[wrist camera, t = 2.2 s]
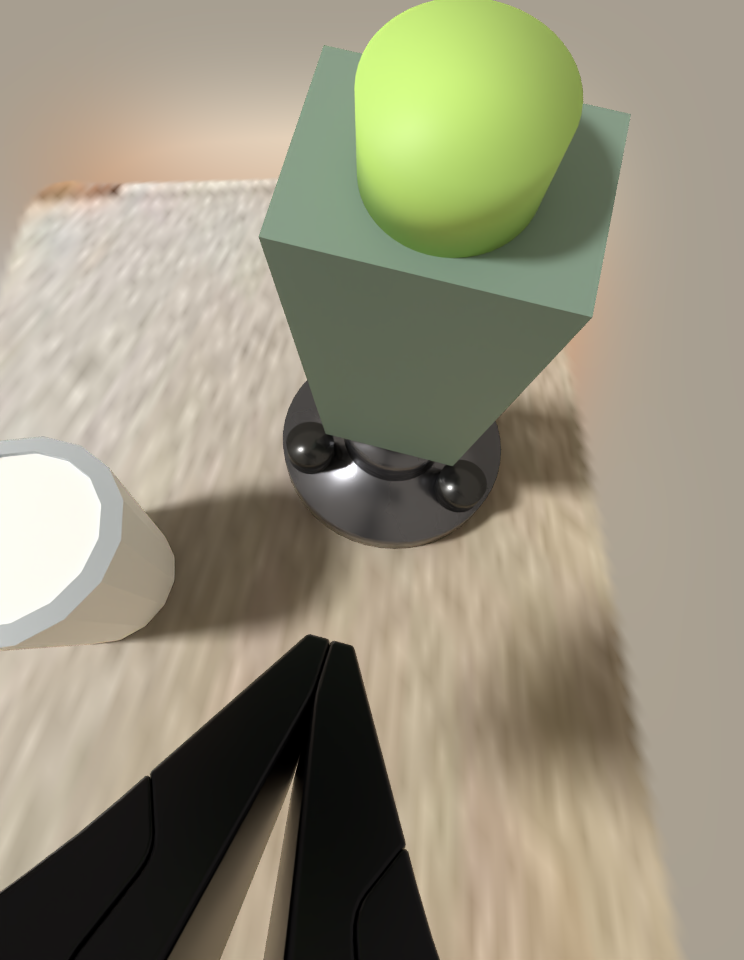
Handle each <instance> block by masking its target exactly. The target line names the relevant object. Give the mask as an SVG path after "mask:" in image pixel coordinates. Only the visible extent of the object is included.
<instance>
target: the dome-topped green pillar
mask: <svg viewBox="0 0 744 960" xmlns="http://www.w3.org/2000/svg"><path fill="white" fill-rule="evenodd" d="M630 116H631V114H627V113H623V112H618V111H614V110H610V109H605V108H601V107H596V106H592V105H587V104H583V88H582V83H581V77H580V75H579V71H578V68H577V65H576V63H575V61H574V59H573V57H572V56H571V54H570V52H569V51H568V49H567V48H566V46H565V45H564V43H563V42H562V41H561V40H560V39H559V38H558V37H557V36H556V34H555V33H554V32H553V31H551V30H550V29H549V28H548V27H547V26H546V25H544V24H543V23H542V22H540V21H538V20H537V19H536V18H534V17H533V16H531V15H529V14H527V13H525V12H523V11H522V10H520V9H517V8H515V7H512V6H510V5H507V4H504V3H500V2H496V1H492V0H434V1H431V2H427V3H423V4H421V5H418V6H415V7H413V8H410V9H408V10H406V11H405V12H403V13H401V14H399V15H397V16H396V17H395V18H393V19H392V20H390V21H389V22H388V23H386V24H385V25H384V27H382V28H381V29H380V30H379V31H378V32H377V33H376V34H375V35H374V37H373V38H372V39H371V41H370V42H369V43H368V45H367V47H366V48H365V50H364V52H363V54H361V53H357V52H352V51H347V50H343V49H339V48H334V47H329V46H326V45H324V46H323V49H322V52H321V55H320V58H319V61H318V64H317V67H316V70H315V73H314V76H313V79H312V82H311V84H310V87H309V90H308V93H307V96H306V99H305V102H304V105H303V108H302V111H301V114H300V117H299V120H298V123H297V126H296V129H295V132H294V135H293V137H292V140H291V143H290V146H289V149H288V152H287V155H286V158H285V161H284V164H283V167H282V170H281V173H280V176H279V179H278V182H277V185H276V187H275V190H274V193H273V196H272V199H271V202H270V205H269V208H268V211H267V214H266V217H265V220H264V223H263V226H262V229H261V232H260V235H259V239H260V242H261V245H262V248H263V251H264V254H265V257H266V260H267V263H268V266H269V269H270V271H271V274H272V277H273V280H274V283H275V286H276V289H277V292H278V295H279V298H280V301H281V304H282V307H283V310H284V313H285V316H286V319H287V322H288V324H289V327H290V330H291V333H292V336H293V339H294V342H295V345H296V348H297V351H298V354H299V357H300V360H301V363H302V366H303V369H304V372H305V375H306V377H307V380H308V383H309V386H310V389H311V392H312V395H313V398H314V401H315V404H316V407H317V410H318V413H319V416H320V419H321V422H322V425H323V427H324V430H325V433H326V434H329V435H333V436H337V437H340V438H344V439H348V440H352V441H356V442H360V443H364V444H368V445H372V446H376V447H380V448H384V449H388V450H391V451H395V452H399V453H403V454H407V455H411V456H415V457H419V458H423V459H427V460H431V461H435V462H439V463H442V464H446V465H450V466H453V465H454V464H455V463H456V462H457V461H458V460H459V459H460V458H461V457H462V456H463V455H464V453H465V452H466V451H467V450H468V449H469V448H470V447H471V446H472V445H473V444H474V443H475V442H476V441H477V440H478V439H479V437H480V436H481V435H482V434H483V433H484V432H485V431H486V430H487V429H488V428H489V427H490V426H491V425H492V424H493V423H494V421H495V420H496V419H497V418H498V417H499V416H500V415H501V414H502V413H503V412H504V411H505V410H506V409H507V408H508V407H509V405H510V404H511V403H512V402H513V401H514V400H515V399H516V398H517V397H518V396H519V395H520V394H521V393H522V392H523V391H524V390H525V388H526V387H527V386H528V385H529V384H530V383H531V382H532V381H533V380H534V379H535V378H536V377H537V376H538V375H539V374H540V372H541V371H542V370H543V369H544V368H545V367H546V366H547V365H548V364H549V363H550V362H551V361H552V360H553V359H554V358H555V356H556V355H557V354H558V353H559V352H560V351H561V350H562V349H563V348H564V347H565V346H566V345H567V344H568V343H569V342H570V340H571V339H572V338H573V337H574V336H575V335H576V334H577V333H578V332H579V331H580V330H581V329H582V328H583V327H584V326H585V324H586V323H587V322H588V321H589V320H590V319H591V318H592V316H593V311H594V305H595V300H596V295H597V290H598V284H599V279H600V274H601V268H602V263H603V258H604V253H605V248H606V242H607V237H608V232H609V226H610V221H611V216H612V210H613V205H614V200H615V195H616V189H617V184H618V179H619V174H620V168H621V163H622V157H623V153H624V147H625V142H626V137H627V131H628V126H629V121H630Z"/></svg>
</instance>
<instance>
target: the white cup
mask: <svg viewBox="0 0 744 960" xmlns="http://www.w3.org/2000/svg"><path fill="white" fill-rule="evenodd" d="M174 581H175V557H174V554H173V552H172V550H171V548H170V546H169V544H168V541H167V539H166V537H165V536H164V535H163V533H162V532H161V531H160V530H159V529H158V527H157V526H156V525H155V524H154V522H153V521H152V520H151V519H150V517H149V516H148V515H147V514H146V513H145V511H144V510H143V509H142V508H141V506H140V505H139V504H138V503H137V502H136V500H135V499H134V498H133V497H132V495H131V494H130V493H129V492H128V490H127V489H126V488H125V487H124V486H123V484H122V483H121V482H120V481H119V479H118V478H117V477H116V476H115V475H114V473H113V472H112V471H111V470H110V468H109V467H107V466H106V465H105V464H104V463H102V462H101V461H100V460H99V459H97V458H96V457H95V456H93V455H92V454H91V453H90V452H88V451H87V450H86V449H85V448H83V447H82V446H80V445H76V444H72V443H68V442H64V441H60V440H56V439H52V438H48V437H33V438H23V439H13V440H3V441H0V651H5V650H19V649H33V648H48V647H62V646H76V645H91V644H98V643H105V642H111V641H117V640H121V639H123V638H125V637H127V636H128V635H130V634H132V633H134V632H136V631H137V630H139V629H141V628H143V627H145V626H146V625H147V624H148V623H149V622H150V620H151V619H152V618H153V617H154V616H155V615H156V614H157V613H158V612H159V610H160V609H161V608H162V607H163V606H164V605H165V602H166V600H167V598H168V595H169V593H170V590H171V588H172V586H173V583H174Z"/></svg>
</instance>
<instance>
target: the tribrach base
mask: <svg viewBox="0 0 744 960" xmlns="http://www.w3.org/2000/svg"><path fill="white" fill-rule="evenodd" d="M283 449H284V455H285V461H286V465H287V469H288V472H289V475H290V479H291V482H292V484H293V486H294V488H295V490H296V492H297V494H298V496H299V497H300V499H301V500H302V502H303V503H304V505H305V506H306V507H307V509H308V510H309V511H310V512H311V513H312V514H313V515H314V516H315V517H316V518H317V519H318V520H319V521H321V522H322V523H323V524H324V525H325V526H327V527H328V528H330V529H331V530H333V531H334V532H336V533H337V534H339V535H342V536H344V537H346V538H348V539H350V540H352V541H355V542H358V543H361V544H364V545H369V546H374V547H379V548H394V549H396V548H410V547H415V546H420V545H425V544H428V543H431V542H433V541H436V540H439V539H441V538H443V537H445V536H447V535H449V534H450V533H452V532H453V531H455V530H456V529H458V528H459V527H460V526H462V525H463V524H464V523H465V522H466V521H467V520H468V519H469V518H470V517H471V516H472V515H473V514H474V513H475V511H476V510H477V509H478V508H479V507H480V505H481V504H482V503H483V502H484V500H485V499H486V498H487V496H488V494H489V492H490V491H491V489H492V487H493V485H494V482H495V480H496V477H497V474H498V469H499V465H500V455H501V446H500V436H499V431H498V427H497V424H496V421H494V423H493V424H492V425H491V426H490V427H489V428H488V429H487V430H486V431H485V432H484V433H483V434H482V435H481V436H480V437H479V439H478V440H477V441H476V442H475V443H474V444H473V445H472V446H471V447H470V448H469V449H468V450H467V451H466V452H465V453H464V455H463V456H462V457H461V458H460V459H459V460H458V461H457V462H456V463H455V464H454V465H453V466H450V465H446V464H442V463H439V462H435V461H431V460H427V459H423V458H419V457H415V456H411V455H407V454H403V453H399V452H395V451H391V450H388V449H384V448H380V447H376V446H372V445H368V444H364V443H360V442H356V441H352V440H348V439H344V438H340V437H337V436H333V435H329V434H326V433H325V430H324V427H323V425H322V422H321V419H320V416H319V413H318V410H317V407H316V404H315V401H314V398H313V395H312V392H311V389H310V386H309V383H308V380H307V381H306V382H305V383H304V384H303V385H302V387H301V388H300V389H299V391H298V392H297V394H296V395H295V397H294V399H293V401H292V403H291V405H290V407H289V409H288V413H287V416H286V419H285V424H284V431H283Z"/></svg>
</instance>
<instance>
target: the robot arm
mask: <svg viewBox="0 0 744 960" xmlns="http://www.w3.org/2000/svg"><path fill="white" fill-rule="evenodd" d="M297 764H298V765H297ZM296 767H297V769H296ZM295 770H296V773H295ZM294 773H295V777H294V782H293V787H292V793H291V798H290V804H289V810H288V816H287V822H286V828H285V834H284V840H283V846H282V852H281V858H280V864H279V870H278V876H277V882H276V888H275V894H274V900H273V906H272V912H271V918H270V924H269V930H268V936H267V941H266V947H265V953H264V959H263V960H440V959H439V956H438V953H437V950H436V947H435V944H434V941H433V938H432V935H431V932H430V928H429V925H428V921H427V918H426V914H425V911H424V908H423V904H422V901H421V897H420V894H419V890H418V887H417V884H416V880H415V876H414V872H413V868H412V865H411V861H410V857H409V853H408V851H407V850H406V849H404V848H405V846H406V843H405V839H404V835H403V831H402V828H401V824H400V820H399V816H398V812H397V809H396V805H395V801H394V797H393V793H392V790H391V786H390V782H389V778H388V774H387V771H386V767H385V763H384V759H383V755H382V752H381V748H380V744H379V740H378V736H377V733H376V729H375V725H374V721H373V717H372V714H371V710H370V706H369V702H368V698H367V694H366V691H365V687H364V683H363V679H362V675H361V672H360V668H359V664H358V660H357V656H356V653H355V649H354V647H353V646H351V645H348V644H344V643H341V642H337V641H332V642H331V643H330V642H329V640H328V639H326V638H322V637H318V636H315V635H311V634H309V635H306V636H305V637H304V638H303V639H302V640H300V641H299V642H298V643H297V644H296V645H295V646H294V647H292V648H291V649H290V650H289V651H288V652H287V653H286V654H284V655H283V656H282V657H281V658H280V659H279V660H278V661H276V662H275V663H274V664H273V665H272V666H271V667H270V668H268V669H267V670H266V671H265V672H264V673H263V674H262V675H260V676H259V677H258V678H257V679H256V680H255V681H254V682H252V683H251V684H250V685H249V686H248V687H247V688H246V689H245V690H243V691H242V692H241V693H240V694H239V695H238V696H237V697H235V698H234V699H233V700H232V701H231V702H230V703H229V704H227V705H226V706H225V707H224V708H223V709H222V710H221V711H219V712H218V713H217V714H216V715H215V716H214V717H213V718H211V719H210V720H209V721H208V722H207V723H206V724H205V725H203V726H202V727H201V728H200V729H199V730H198V731H197V732H195V733H194V734H193V735H192V736H191V737H190V738H189V739H188V740H186V741H185V742H184V743H183V744H182V745H181V746H180V747H178V748H177V749H176V750H175V751H174V752H173V753H172V754H170V755H169V756H168V757H167V758H166V759H165V760H164V761H162V762H161V763H160V764H159V765H158V766H157V767H156V768H154V769H153V770H152V771H151V773H150V777H149V776H145V777H144V778H143V779H141V780H140V781H139V782H138V783H137V784H136V785H135V786H134V787H132V788H131V789H130V790H129V791H128V792H127V793H126V794H124V795H123V796H122V797H121V798H120V799H119V800H118V801H116V802H115V803H114V804H113V805H112V806H110V807H109V808H108V809H107V810H106V811H104V812H103V813H102V814H101V815H100V816H98V817H97V818H96V819H95V820H94V821H92V822H91V823H90V824H89V825H88V826H86V827H85V828H84V829H83V830H82V831H80V832H79V833H78V834H77V835H75V836H74V837H73V838H71V839H70V840H69V841H67V842H66V843H65V844H64V845H62V846H61V847H60V848H58V849H57V850H56V851H54V852H53V853H52V854H50V855H49V856H48V857H46V858H45V859H44V860H43V861H41V862H40V863H39V864H37V865H36V866H35V867H33V868H32V869H31V870H29V871H28V872H27V873H25V874H24V875H23V876H21V877H20V878H19V879H17V880H16V881H15V882H13V883H12V884H10V885H9V886H8V887H6V888H5V889H4V890H2V891H1V892H0V960H220V958H221V956H222V953H223V951H224V948H225V946H226V943H227V941H228V938H229V936H230V933H231V931H232V928H233V926H234V923H235V921H236V919H237V916H238V914H239V911H240V909H241V906H242V904H243V901H244V899H245V896H246V894H247V891H248V889H249V886H250V884H251V881H252V879H253V877H254V874H255V872H256V869H257V867H258V864H259V862H260V859H261V857H262V854H263V852H264V849H265V847H266V844H267V842H268V839H269V837H270V834H271V832H272V830H273V827H274V825H275V822H276V820H277V817H278V815H279V812H280V810H281V807H282V805H283V802H284V800H285V797H286V795H287V792H288V790H289V787H290V784H291V782H292V779H293V776H294Z"/></svg>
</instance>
